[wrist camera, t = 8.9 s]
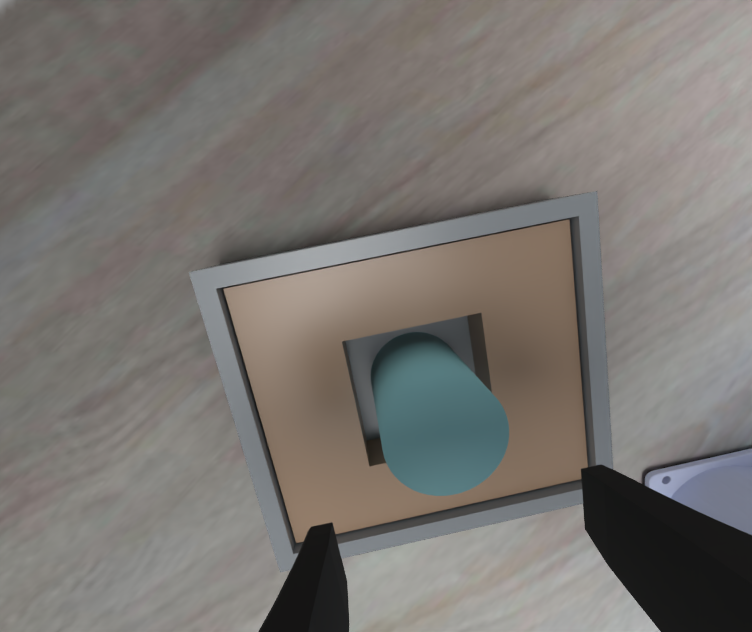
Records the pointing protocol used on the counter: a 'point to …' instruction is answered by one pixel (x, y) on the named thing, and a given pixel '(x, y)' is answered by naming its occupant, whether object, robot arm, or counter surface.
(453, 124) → the counter surface
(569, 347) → the bore box
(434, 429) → the teal peg
